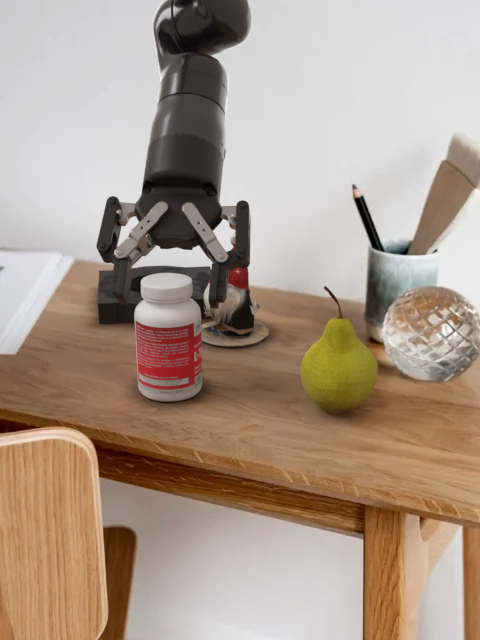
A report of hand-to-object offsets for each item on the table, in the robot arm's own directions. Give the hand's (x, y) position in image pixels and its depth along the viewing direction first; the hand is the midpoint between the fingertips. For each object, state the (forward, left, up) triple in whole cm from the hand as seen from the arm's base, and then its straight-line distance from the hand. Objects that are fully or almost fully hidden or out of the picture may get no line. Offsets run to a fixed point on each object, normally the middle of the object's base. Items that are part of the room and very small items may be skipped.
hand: (167, 303), depth 77 cm
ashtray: (0, +24, -9) cm, 26 cm away
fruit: (+15, -6, -9) cm, 19 cm away
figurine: (+8, +13, -9) cm, 18 cm away
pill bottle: (0, 0, -9) cm, 9 cm away
